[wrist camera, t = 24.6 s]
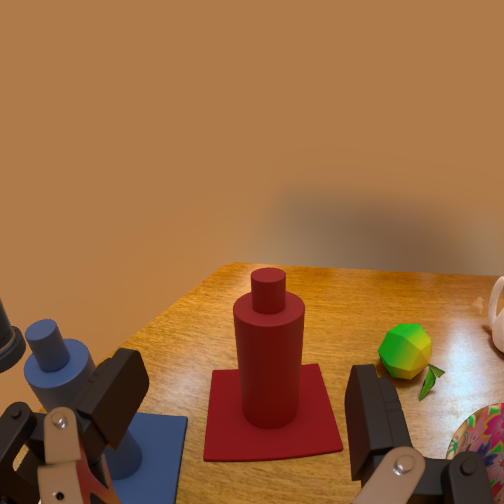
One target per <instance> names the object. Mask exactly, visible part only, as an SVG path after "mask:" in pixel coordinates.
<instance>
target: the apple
mask: <svg viewBox="0 0 504 504" xmlns="http://www.w3.org/2000/svg"><path fill="white" fill-rule="evenodd" d="M378 353H379V356H380V359H381V361H382V363H383V364H384V366H385V367H386V369H387V371H388V372H389V374H390V375H391V377H394V378H402V379H412V378H414V377H415V376H416V375H417V374H418V373H419V372H421V371H422V370H423V369H424V368H425V367H426V366H427V365H428V366H429V370H428V373H427V375H426V378H425V381H424V384H423V388H422V393H421V397H420V401H421V399H422V398H423V397H424V396H425V395H426V394H427V393H428V391H429V390H430V389H431V388H432V387H433V386H434V384H435V380H436V377H435V375H436V376H437V377H438V378H439V377H440V376H442V375H443V374H444V373H445V372H444V371H443V370H441V369H439V368H437V367H435V366H433V365H431V364H429V361H430V357H431V354H432V340H431V339H430V338H429V336H428V335H427V334H426V332H425V331H424V330H423V328H422V327H421V326H420V324H399V325H397V326H396V327H394V328H393V329H391V330H390V331H388V332H387V334H386V336H385V338H384V340H383V342H382V344H381V346H380V348H379V350H378ZM433 372H434V373H433ZM434 374H435V375H434ZM420 401H419V402H420Z"/></svg>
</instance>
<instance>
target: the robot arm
mask: <svg viewBox="0 0 504 504" xmlns="http://www.w3.org/2000/svg"><path fill="white" fill-rule="evenodd" d="M15 337H16V335H15V332H14V330H13V328H12V327H11V324H10V322H9V319H8V317H7V314H6V312H5V309H4V307H3V304H2V301H1V299H0V355H1V354H3V353H4V352H5V351H7V350H8V349H9V348H10V347H11V346H12V344H13V343H14V341H15ZM148 388H149V377H148V374H147V372H146V369H145V366H144V363H143V360H142V357H141V354H140V352H139V351H137V350H131V349H126V348H119V349H118V350H117V351H116V353H115V354H114V355H113V357H112V358H108V359H106V360H105V361H103V362H102V363H101V364H99V365H98V367H97V368H96V369H95V370H94V372H93V375H91V376H90V377H89V378H88V381H87V382H85V384H84V385H83V386H82V388H81V389H80V390H79V392H78V393H77V394H76V396H75V397H74V399H73V400H72V401H71V403H70V404H69V405H68V406H67V407H57V408H54V409H52V410H51V411H50V412H49V413H48V414H43V413H35V412H32V410H31V409H30V408H29V406H28V405H27V404H26V403H24V402H15V403H13V404H11V405H10V406H9V407H8V408H7V409H6V410H5V412H4V413H3V415H2V416H1V417H0V504H38V503H39V501H40V499H41V504H122V503H121V501H120V500H119V498H118V497H117V495H116V493H115V491H114V487H113V484H112V481H111V477H110V474H109V470H108V466H107V463H106V459H105V455H104V453H103V451H104V449H105V447H106V448H109V449H112V450H115V451H116V450H117V448H118V446H119V444H120V442H121V440H122V438H123V436H124V434H125V433H126V431H127V429H128V427H129V425H130V423H131V421H132V419H133V417H134V416H135V414H136V412H137V410H138V408H139V406H140V404H141V403H142V401H143V399H144V397H145V395H146V393H147V391H148ZM401 408H402V407H401V404H400V400H399V397H398V394H397V391H396V388H395V386H394V385H393V384H392V383H391V381H390V380H389V379H388V378H387V377H382V378H378V376H377V373H376V369H375V366H374V365H373V364H366V365H353V366H352V369H351V373H350V377H349V381H348V385H347V389H346V393H345V415H346V423H347V432H348V442H349V452H350V464H351V477H352V481H358V480H361V488H362V489H361V490H360V492H359V493H358V494H357V496H356V497H355V498H354V499H353V501H352V502H351V503H350V504H494V501H493V496H492V491H491V487H490V482H489V478H488V474H487V470H486V467H485V463H484V460H483V459H482V457H481V456H480V455H479V454H478V453H476V452H473V451H462V452H460V453H458V454H457V455H455V456H454V457H453V458H452V459H432V458H427V457H424V456H423V455H422V454H421V453H420V452H419V451H418V450H416V449H414V447H413V446H412V443H411V439H410V436H409V432H408V428H407V425H406V421H405V417H404V414H403V411H402V410H401ZM23 444H25V445H26V446H27V448H28V449H29V450H28V452H27V454H26V455H25V457H24V459H23V460H22V462H21V464H20V466H19V467H18V469H17V470H16V471H14V469H13V461H14V459H15V458H16V456H17V454H18V453H19V451H20V449H21V448H22V446H23Z"/></svg>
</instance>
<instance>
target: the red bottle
mask: <svg viewBox="0 0 504 504" xmlns="http://www.w3.org/2000/svg"><path fill="white" fill-rule="evenodd" d="M304 314H305V305H304V302H303V301H302V300H301V298H299V297H298V296H297V295H295V294H293V293H290V292H287V291H286V274H285V272H284V271H282V270H280V269H277V268H261V269H257V270H255V271H253V272H252V273H251V292H250V293H247V294H245V295H243V296H241V297H240V298H239V299H237V301H236V302H235V303H234V306H233V316H234V326H235V337H236V347H237V357H238V367H239V377H240V386H241V395H242V404H243V412H244V416H245V417H246V419H247V420H248V421H249V422H250V423H251V424H253V425H255V426H257V427H259V428H264V429H275V428H280V427H283V426H285V425H287V424H288V423H290V422H291V421H292V420H293V418H294V417H295V415H296V413H297V406H298V396H299V385H300V373H301V361H302V347H303V332H304Z"/></svg>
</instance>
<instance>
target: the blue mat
mask: <svg viewBox="0 0 504 504" xmlns="http://www.w3.org/2000/svg"><path fill="white" fill-rule="evenodd" d="M187 421H188V418H187V417H186V416H170V415H157V414H147V413H138V412H136V414H135V416H134V417H133V419H132V421H131V423H130V425H129V427H128V430H129V431H130V433H131V435H132V436H133V438H134V439H135V441H136V443H137V444H138V446H139V447H140V449H141V453H142V461H141V464H140V466H139V468H138V469H137V471H136V472H135V473H134V474H132V475H131V476H129V477H127V478H124V479H117V480H115V479H111V481H112V484H113V487H114V491H115V493H116V495H117V497H118V498H119V500H120V501H121V503H122V504H175V502H176V494H177V487H178V480H179V473H180V466H181V459H182V453H183V446H184V440H185V433H186V427H187Z"/></svg>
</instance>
